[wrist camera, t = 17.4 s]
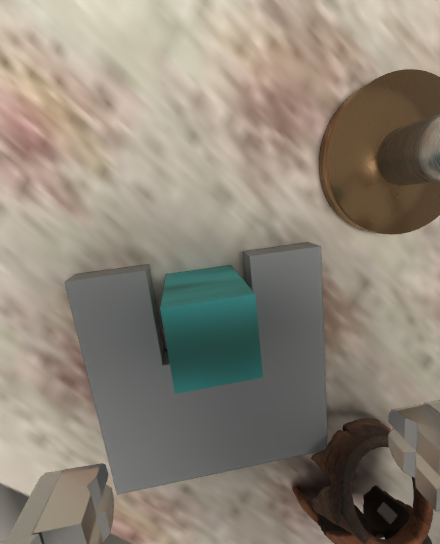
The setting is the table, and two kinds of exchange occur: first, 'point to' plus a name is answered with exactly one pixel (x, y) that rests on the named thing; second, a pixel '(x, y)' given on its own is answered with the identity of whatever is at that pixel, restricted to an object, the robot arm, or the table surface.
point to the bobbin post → (385, 154)
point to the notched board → (209, 401)
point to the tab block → (210, 328)
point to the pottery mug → (377, 504)
